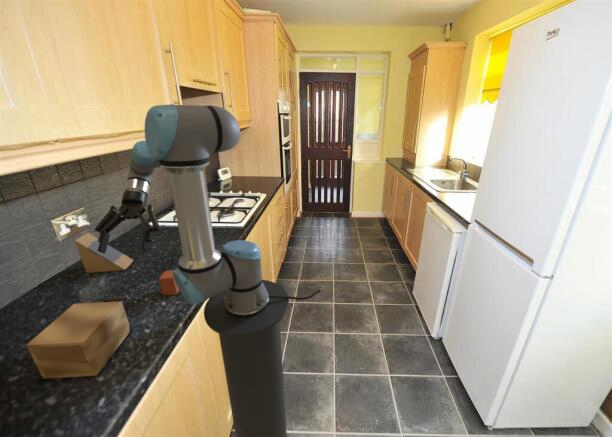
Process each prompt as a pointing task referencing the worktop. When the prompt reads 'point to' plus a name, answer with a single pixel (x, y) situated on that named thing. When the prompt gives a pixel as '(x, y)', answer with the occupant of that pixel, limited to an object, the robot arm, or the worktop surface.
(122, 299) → the drawer
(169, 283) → the block
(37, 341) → the tan rectangular box
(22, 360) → the worktop surface
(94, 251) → the sandwich container
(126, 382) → the worktop surface
